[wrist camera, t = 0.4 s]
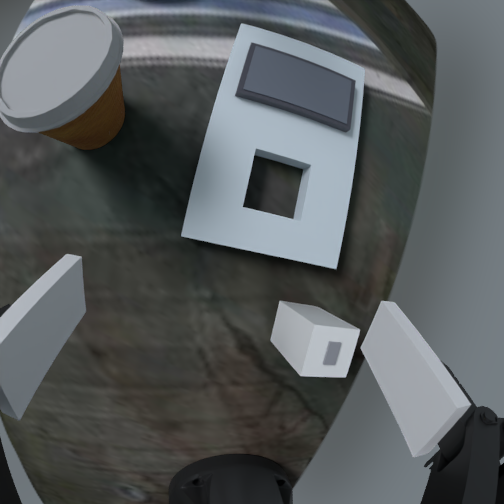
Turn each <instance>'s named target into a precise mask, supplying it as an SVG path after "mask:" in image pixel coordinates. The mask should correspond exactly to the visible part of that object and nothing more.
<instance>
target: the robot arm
mask: <svg viewBox="0 0 504 504" xmlns="http://www.w3.org/2000/svg"><path fill="white" fill-rule="evenodd" d="M85 312H86V306H85V297H84V285H83V272H82V257H80V256H75V255H70V254H66V255H65V256H64V257H63V258H62V259H60V260H59V261H58V262H57V263H56V264H55V265H54V266H53V267H51V268H50V269H49V270H48V271H47V272H46V273H45V274H44V275H43V276H42V277H41V278H39V279H38V280H37V281H36V282H35V283H34V284H33V285H32V286H31V287H30V288H29V289H28V290H27V291H26V292H25V293H24V294H23V295H22V296H21V297H20V298H19V299H18V300H17V301H16V302H15V303H14V304H13V305H9V304H8V305H6V306H4V307H2V308H0V409H1V411H2V412H3V413H5V414H7V415H9V416H11V417H13V418H15V419H17V420H19V421H20V419H21V417H22V415H23V413H24V411H25V409H26V408H27V406H28V404H29V402H30V400H31V398H32V397H33V395H34V393H35V391H36V390H37V388H38V386H39V384H40V383H41V381H42V379H43V378H44V376H45V374H46V373H47V371H48V369H49V368H50V366H51V364H52V363H53V361H54V359H55V358H56V356H57V355H58V353H59V352H60V350H61V348H62V347H63V345H64V344H65V342H66V341H67V339H68V338H69V336H70V335H71V333H72V332H73V330H74V329H75V327H76V326H77V324H78V323H79V321H80V320H81V318H82V317H83V315H84V314H85ZM361 350H362V352H363V354H364V356H365V358H366V360H367V362H368V364H369V366H370V368H371V370H372V372H373V374H374V376H375V378H376V380H377V382H378V384H379V386H380V388H381V390H382V392H383V394H384V396H385V397H386V400H387V402H388V404H389V406H390V408H391V410H392V413H393V415H394V417H395V419H396V421H397V423H398V425H399V427H400V429H401V432H402V434H403V436H404V438H405V440H406V443H407V445H408V447H409V449H410V451H411V454H412V456H413V457H416V456H420V455H424V454H427V453H429V452H430V451H431V450H432V449H433V448H434V447H435V446H436V445H437V444H438V445H439V447H440V450H439V451H438V452H437V453H436V454H435V455H434V456H433V457H432V458H431V459H430V460H429V461H427V462H426V464H425V465H424V467H427V466H428V465H429V464H430V463H431V462H433V465H432V466H431V467H430V468H429V469H431V473H430V476H429V480H428V483H427V486H426V489H425V492H424V495H423V498H422V501H421V504H504V463H503V464H502V465H500V461H499V460H500V459H501V458H502V457H504V418H498V417H497V415H496V414H495V413H494V412H493V411H492V410H491V409H489V408H488V407H484V406H481V407H478V408H477V407H476V405H475V404H474V403H473V401H472V400H471V398H470V397H469V395H468V394H467V393H466V391H465V389H464V388H463V387H462V385H461V384H459V381H458V380H457V378H456V377H454V374H453V373H452V371H451V370H450V369H449V367H448V366H447V365H445V364H444V363H443V362H442V361H441V360H440V359H439V358H438V357H437V356H436V354H435V353H434V352H433V350H432V349H431V348H430V346H429V345H428V344H427V342H426V341H425V340H424V339H423V337H422V336H421V335H420V333H419V332H418V331H417V330H416V328H415V327H414V326H413V324H412V323H411V322H410V321H409V320H408V318H407V317H406V316H405V315H404V313H403V312H402V311H401V310H400V308H399V307H398V306H397V305H396V304H395V302H388V301H381V303H380V305H379V308H378V310H377V312H376V315H375V317H374V319H373V322H372V324H371V326H370V328H369V331H368V333H367V335H366V337H365V339H364V342H363V344H362V346H361ZM292 501H293V500H292V486H291V483H290V481H289V479H288V477H287V475H286V473H285V471H284V470H283V469H282V468H281V467H280V466H279V465H278V464H276V463H275V462H273V461H271V460H269V459H266V458H263V457H260V456H255V455H247V454H228V455H220V456H214V457H210V458H206V459H202V460H200V461H197V462H194V463H192V464H190V465H188V466H186V467H185V468H183V469H182V470H181V471H179V472H178V473H177V474H176V475H175V476H174V478H173V479H172V481H171V483H170V485H169V504H293V502H292ZM0 504H22V503H21V500H20V498H19V495H18V493H17V490H16V487H15V485H14V482H13V479H12V476H11V473H10V470H9V467H8V464H7V460H6V457H5V453H4V450H3V446H2V442H1V438H0Z"/></svg>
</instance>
